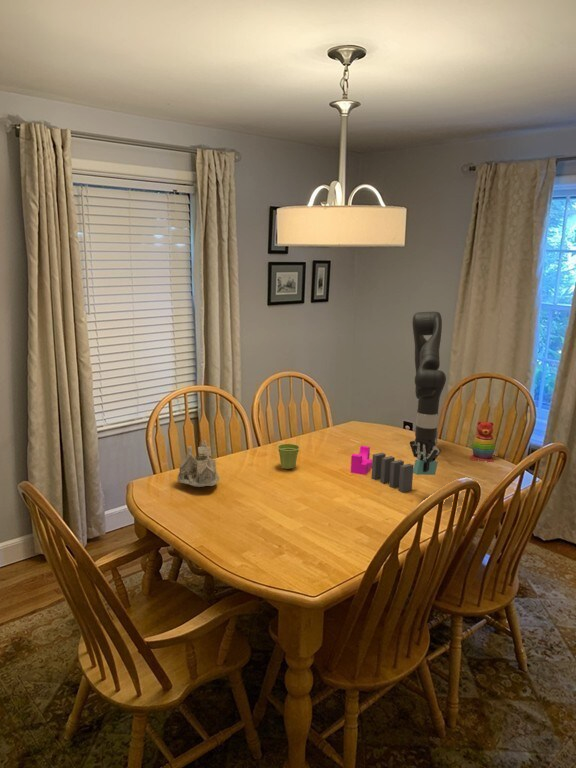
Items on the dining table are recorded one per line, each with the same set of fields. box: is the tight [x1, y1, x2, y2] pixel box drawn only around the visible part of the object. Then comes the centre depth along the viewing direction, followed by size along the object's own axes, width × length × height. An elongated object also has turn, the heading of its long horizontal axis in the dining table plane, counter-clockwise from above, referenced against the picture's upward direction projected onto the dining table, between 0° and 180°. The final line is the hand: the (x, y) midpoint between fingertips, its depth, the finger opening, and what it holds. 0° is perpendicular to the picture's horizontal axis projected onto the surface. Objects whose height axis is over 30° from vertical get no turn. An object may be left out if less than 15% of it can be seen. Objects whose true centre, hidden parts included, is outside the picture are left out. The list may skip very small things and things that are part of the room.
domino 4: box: [398, 463, 414, 493], centre depth 212 cm, size 2×5×10 cm, turn 124°
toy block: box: [350, 445, 373, 476], centre depth 235 cm, size 15×6×8 cm, turn 157°
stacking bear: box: [469, 421, 496, 463], centre depth 247 cm, size 11×10×18 cm
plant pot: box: [276, 443, 300, 470], centre depth 234 cm, size 9×9×9 cm
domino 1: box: [371, 452, 387, 481], centre depth 224 cm, size 2×5×10 cm, turn 123°
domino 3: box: [388, 459, 405, 489], centre depth 216 cm, size 2×5×10 cm, turn 124°
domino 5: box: [413, 459, 439, 476], centre depth 205 cm, size 2×5×10 cm
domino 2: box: [379, 455, 396, 485], centre depth 220 cm, size 2×5×10 cm, turn 124°
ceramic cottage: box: [176, 440, 220, 488], centre depth 215 cm, size 16×16×15 cm
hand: (423, 470), depth 204 cm, fingers closed on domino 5
